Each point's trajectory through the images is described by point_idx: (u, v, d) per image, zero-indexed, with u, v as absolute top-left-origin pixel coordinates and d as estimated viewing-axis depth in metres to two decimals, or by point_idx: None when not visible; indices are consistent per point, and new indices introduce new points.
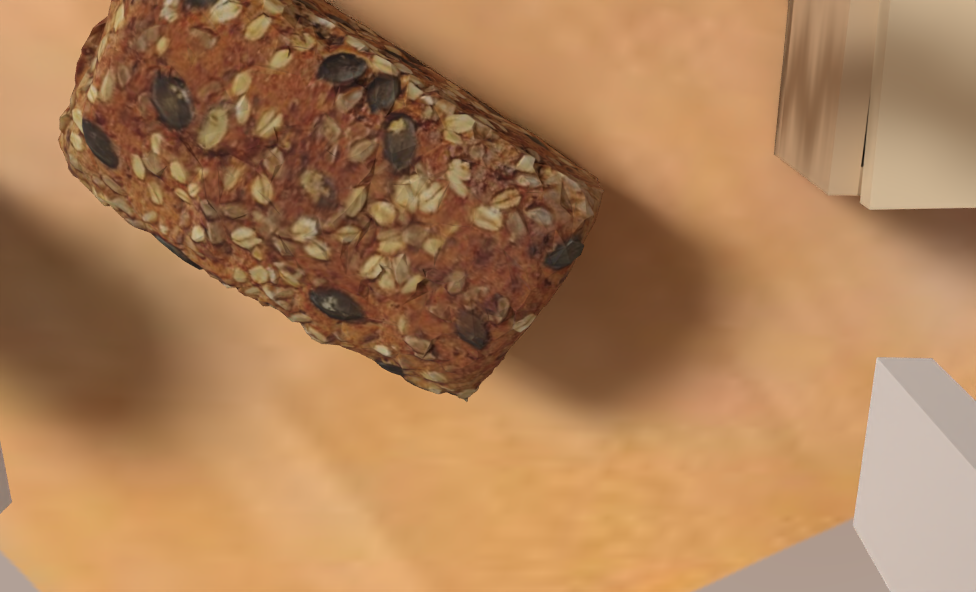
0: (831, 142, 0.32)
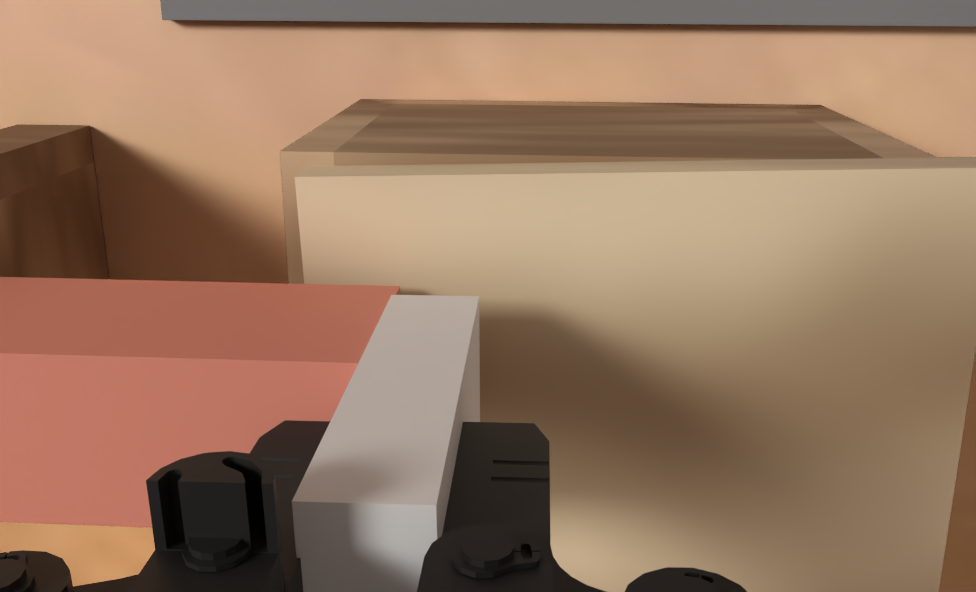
0: None
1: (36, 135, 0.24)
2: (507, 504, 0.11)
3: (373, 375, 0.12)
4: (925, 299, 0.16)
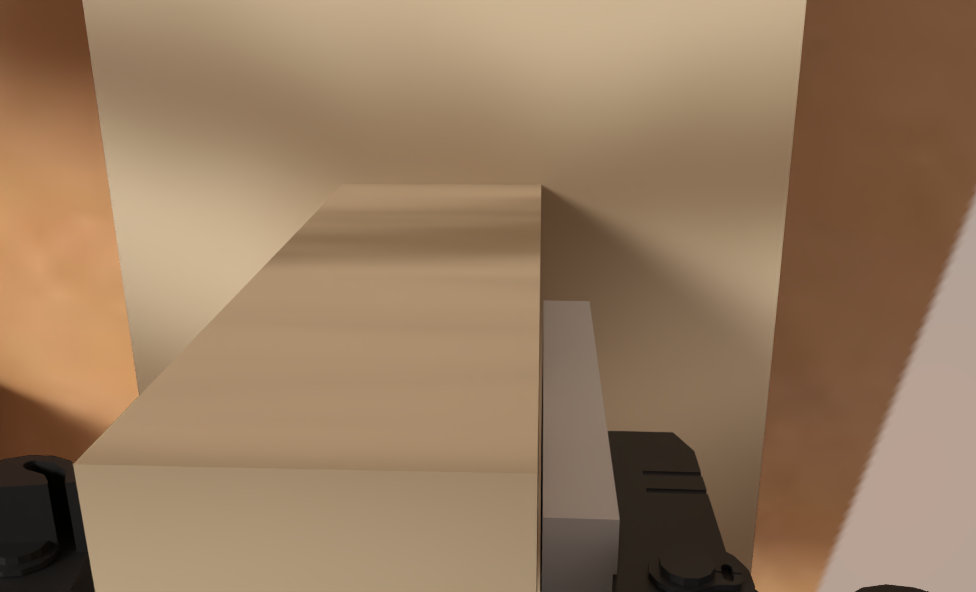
0: None
1: None
2: (672, 517, 0.10)
3: None
4: None
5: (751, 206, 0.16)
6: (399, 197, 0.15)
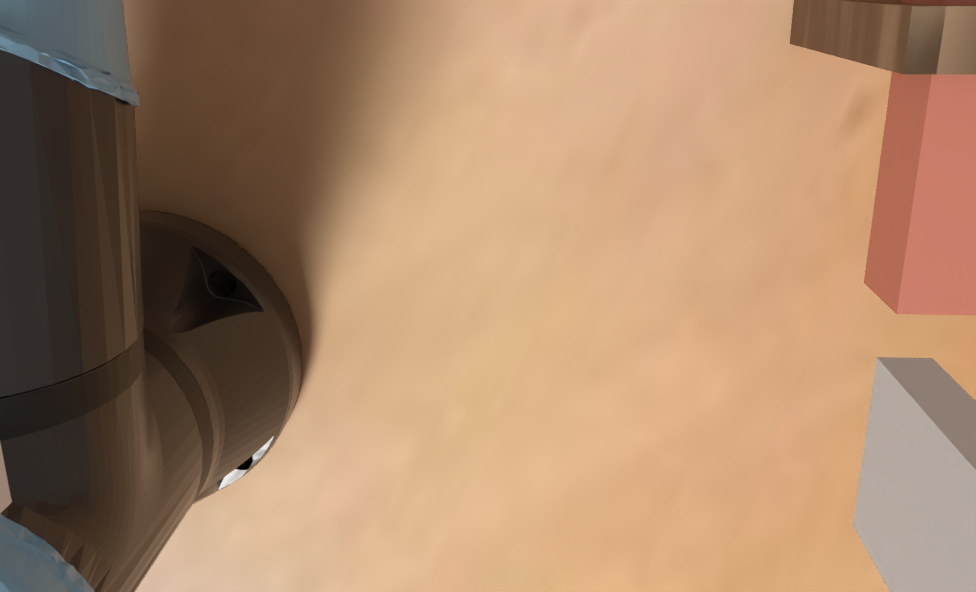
0: None
1: (803, 11, 0.40)
2: None
3: None
4: None
5: None
6: None
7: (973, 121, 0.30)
